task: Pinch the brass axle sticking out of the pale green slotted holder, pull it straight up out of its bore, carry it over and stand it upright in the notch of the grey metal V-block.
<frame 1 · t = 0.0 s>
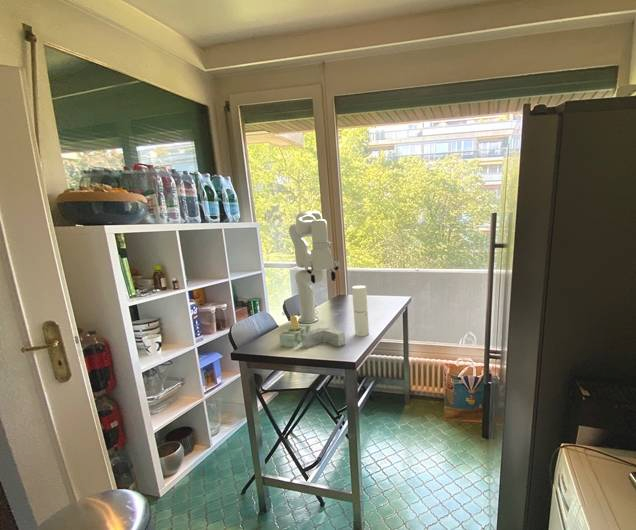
hand: (323, 281, 158), 31 cm above the table, tool pointing down, fingers open, 9 cm apart
v block: (324, 341, 166), on the table
axle: (295, 328, 170), in the pale green slotted holder
cylindrical container: (362, 334, 173), on the table
pale green slotted holder: (296, 340, 171), on the table
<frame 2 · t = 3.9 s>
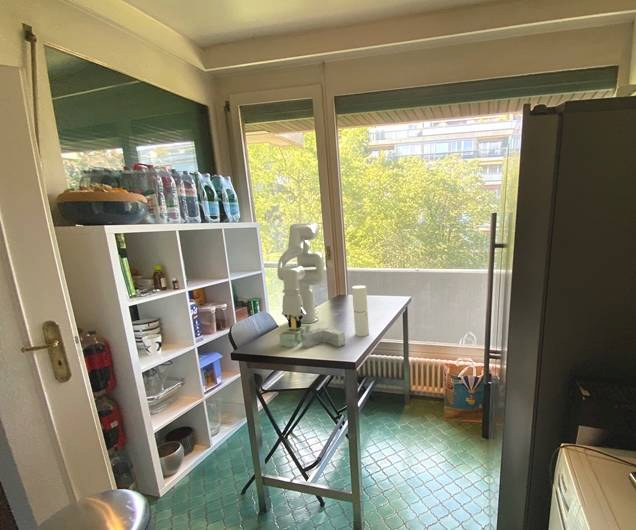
hand: (295, 326, 170), 7 cm above the table, tool pointing down, fingers closed on axle, 4 cm apart
axle: (295, 328, 170), in the pale green slotted holder, touching gripper
everything else where it was.
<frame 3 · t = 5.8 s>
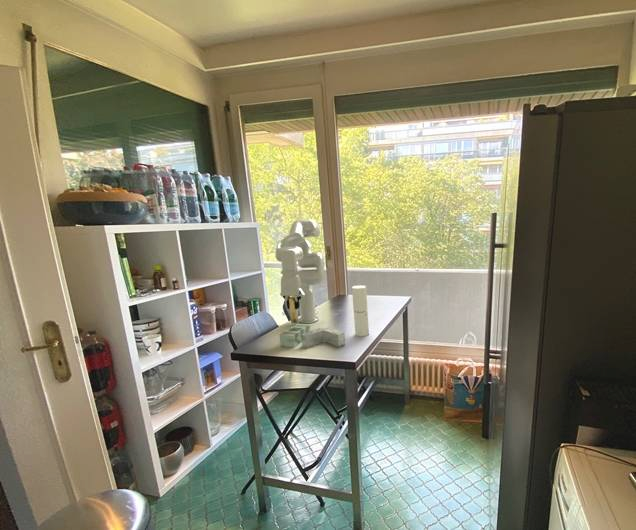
hand: (293, 308, 170), 17 cm above the table, tool pointing down, fingers closed on axle, 4 cm apart
axle: (293, 309, 170), point 16 cm above the table, touching gripper
everything else where it was.
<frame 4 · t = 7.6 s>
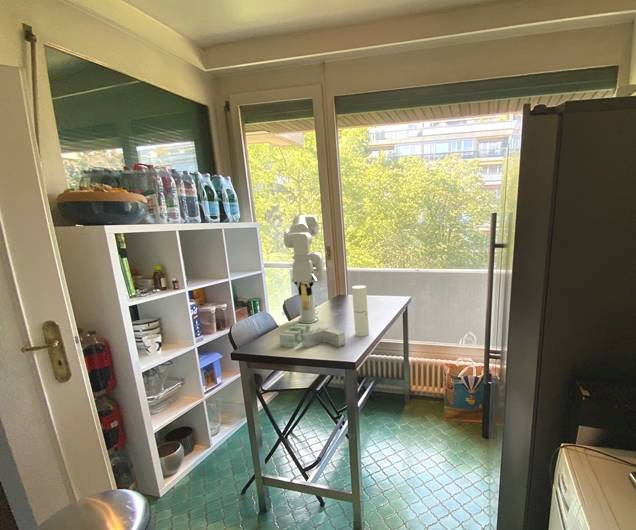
hand: (305, 294, 164), 25 cm above the table, tool pointing down, fingers closed on axle, 4 cm apart
axle: (305, 296, 164), point 24 cm above the table, touching gripper
everything else where it was.
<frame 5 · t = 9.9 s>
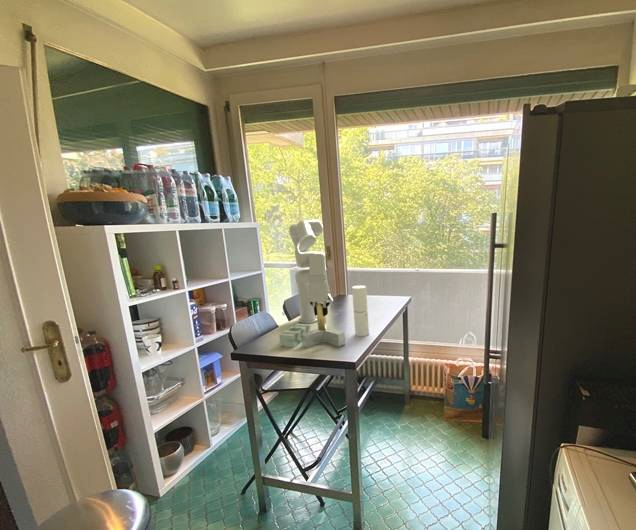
hand: (321, 314, 161), 15 cm above the table, tool pointing down, fingers closed on axle, 4 cm apart
axle: (321, 316, 161), point 14 cm above the table, touching gripper
everything else where it was.
when the fingers open (9 cm above the table, at t = 11.8 s): axle drops 1 cm, on the table.
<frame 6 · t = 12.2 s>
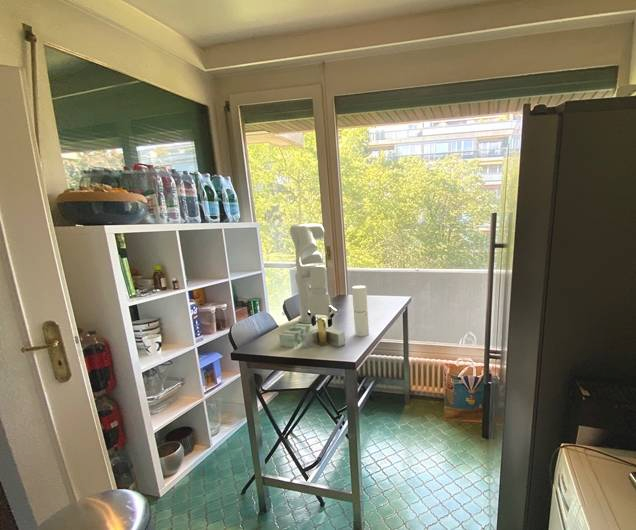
hand: (322, 325, 162), 9 cm above the table, tool pointing down, fingers open, 8 cm apart
axle: (322, 331, 162), on the table
everything else where it was.
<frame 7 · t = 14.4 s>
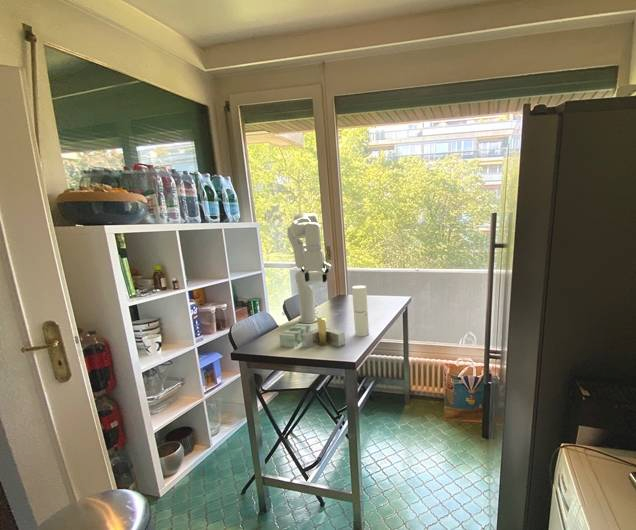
hand: (316, 281, 168), 30 cm above the table, tool pointing down, fingers open, 9 cm apart
nothing on the table moved.
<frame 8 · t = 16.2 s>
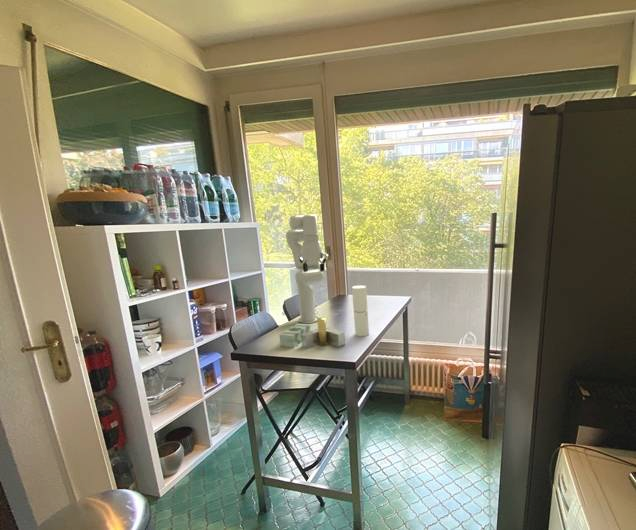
hand: (314, 271, 173), 34 cm above the table, tool pointing down, fingers open, 9 cm apart
nothing on the table moved.
at the end: axle 0.0 cm from the target spot on the v block, point 6.5 cm above the v block's base; axle tilted 0°; the gripper is holding nothing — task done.
